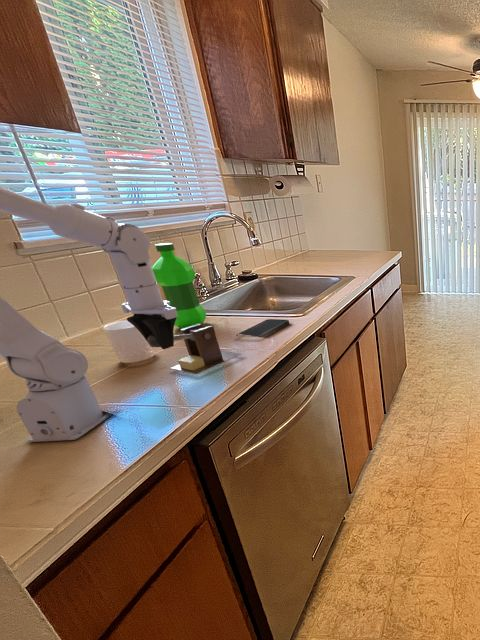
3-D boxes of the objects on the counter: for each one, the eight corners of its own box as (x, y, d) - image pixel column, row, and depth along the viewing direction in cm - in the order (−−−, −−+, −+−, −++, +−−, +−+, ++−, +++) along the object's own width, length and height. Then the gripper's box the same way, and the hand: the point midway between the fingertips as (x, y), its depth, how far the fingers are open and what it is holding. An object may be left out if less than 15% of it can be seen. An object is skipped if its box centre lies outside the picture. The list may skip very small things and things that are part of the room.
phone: (290, 319, 125) (258, 336, 112) (291, 323, 125) (259, 340, 112) (267, 319, 126) (233, 335, 113) (268, 322, 127) (234, 339, 113)
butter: (193, 370, 92) (190, 362, 91) (180, 367, 93) (177, 360, 93) (206, 365, 95) (203, 357, 94) (193, 362, 96) (191, 354, 95)
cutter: (154, 349, 84) (153, 334, 84) (144, 347, 85) (143, 332, 85) (210, 341, 95) (209, 328, 95) (200, 339, 96) (199, 326, 96)
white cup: (137, 369, 96) (121, 330, 92) (111, 367, 97) (94, 328, 93) (166, 356, 103) (153, 319, 99) (142, 354, 104) (127, 318, 100)
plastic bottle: (207, 319, 131) (183, 240, 121) (212, 327, 124) (186, 244, 113) (170, 325, 125) (141, 243, 115) (173, 334, 118) (142, 248, 108)
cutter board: (198, 378, 91) (184, 338, 87) (171, 372, 94) (157, 334, 90) (243, 358, 101) (233, 321, 97) (218, 353, 104) (207, 318, 100)
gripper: (183, 283, 82) (203, 344, 88) (138, 278, 87) (159, 336, 93) (146, 291, 76) (170, 356, 82) (100, 285, 81) (126, 347, 87)
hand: (162, 346), depth 87 cm, fingers closed on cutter, 3 cm apart
